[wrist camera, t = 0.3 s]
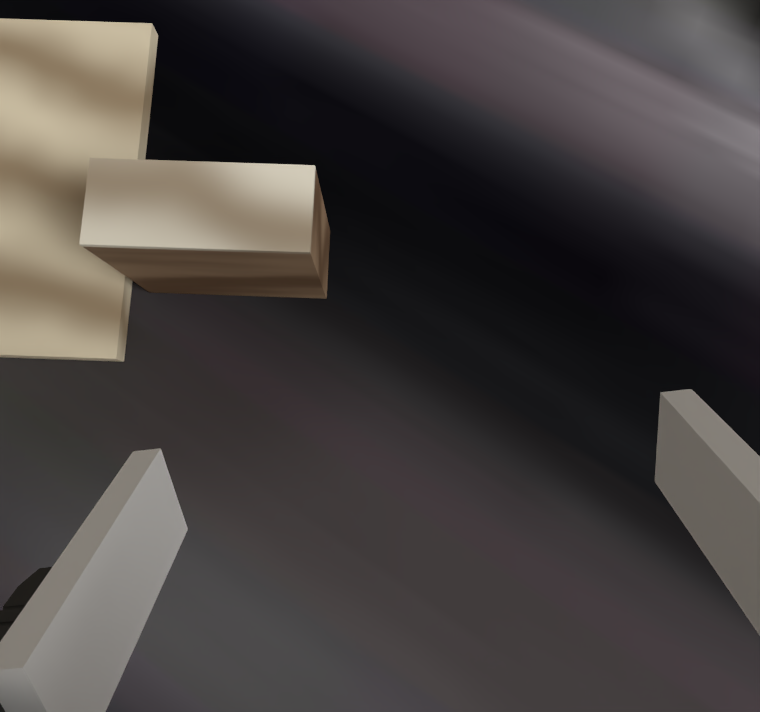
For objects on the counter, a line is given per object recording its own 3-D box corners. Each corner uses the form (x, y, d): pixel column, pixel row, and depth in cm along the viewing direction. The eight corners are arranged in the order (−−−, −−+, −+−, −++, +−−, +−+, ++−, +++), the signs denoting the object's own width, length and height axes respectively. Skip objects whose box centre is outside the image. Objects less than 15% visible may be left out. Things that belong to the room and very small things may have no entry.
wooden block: (326, 298, 34) (310, 252, 26) (149, 292, 34) (79, 244, 26) (330, 231, 34) (315, 165, 26) (156, 225, 34) (89, 157, 26)
